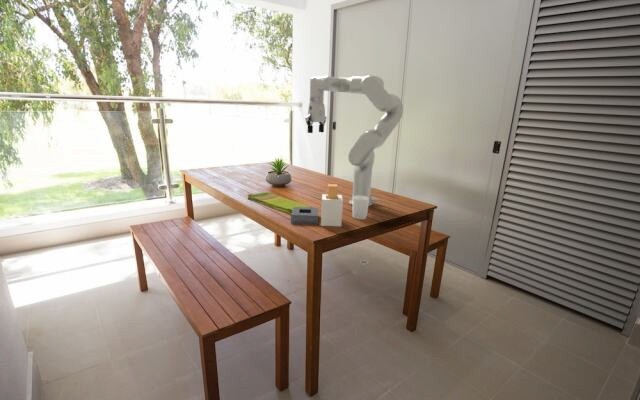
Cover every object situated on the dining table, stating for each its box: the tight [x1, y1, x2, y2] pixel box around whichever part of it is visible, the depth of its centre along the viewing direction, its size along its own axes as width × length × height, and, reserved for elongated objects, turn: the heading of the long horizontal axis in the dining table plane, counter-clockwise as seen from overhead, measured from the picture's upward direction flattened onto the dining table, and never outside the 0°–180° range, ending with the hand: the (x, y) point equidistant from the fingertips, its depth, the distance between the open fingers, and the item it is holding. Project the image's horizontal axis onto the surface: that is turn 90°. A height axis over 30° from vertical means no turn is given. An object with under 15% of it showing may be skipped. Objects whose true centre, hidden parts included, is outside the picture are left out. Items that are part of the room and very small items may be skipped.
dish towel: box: [247, 191, 311, 215], centre depth 174 cm, size 15×36×3 cm, turn 47°
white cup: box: [351, 195, 369, 220], centre depth 156 cm, size 8×8×10 cm
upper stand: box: [320, 193, 344, 227], centre depth 148 cm, size 9×9×12 cm
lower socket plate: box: [290, 206, 319, 225], centre depth 152 cm, size 12×12×4 cm
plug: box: [327, 183, 338, 199], centre depth 146 cm, size 4×4×9 cm
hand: (315, 132), depth 184 cm, fingers open, 9 cm apart
